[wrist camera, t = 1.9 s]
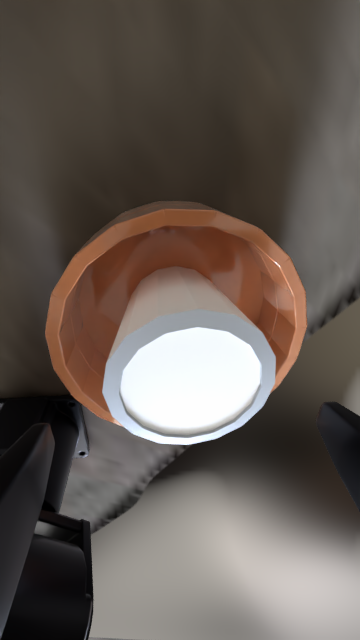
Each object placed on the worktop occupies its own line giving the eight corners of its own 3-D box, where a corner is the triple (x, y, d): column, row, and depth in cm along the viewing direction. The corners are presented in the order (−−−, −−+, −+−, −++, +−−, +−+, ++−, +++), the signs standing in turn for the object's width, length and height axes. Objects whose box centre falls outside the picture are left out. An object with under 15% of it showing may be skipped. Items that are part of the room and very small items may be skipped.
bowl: (251, 378, 20) (277, 426, 16) (86, 386, 19) (70, 441, 15) (288, 204, 14) (342, 213, 10) (52, 196, 13) (12, 204, 9)
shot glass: (249, 308, 17) (309, 383, 11) (172, 371, 19) (186, 466, 12) (177, 228, 14) (202, 268, 8) (94, 311, 16) (61, 397, 10)
